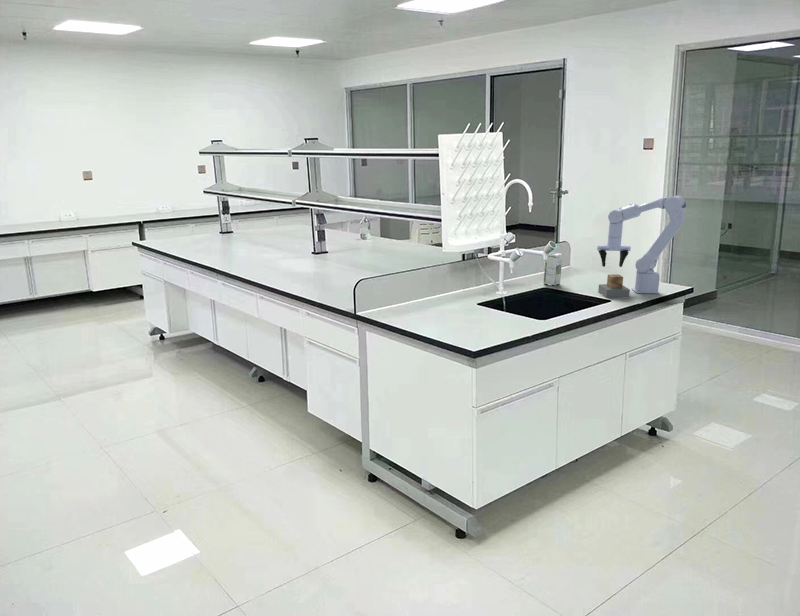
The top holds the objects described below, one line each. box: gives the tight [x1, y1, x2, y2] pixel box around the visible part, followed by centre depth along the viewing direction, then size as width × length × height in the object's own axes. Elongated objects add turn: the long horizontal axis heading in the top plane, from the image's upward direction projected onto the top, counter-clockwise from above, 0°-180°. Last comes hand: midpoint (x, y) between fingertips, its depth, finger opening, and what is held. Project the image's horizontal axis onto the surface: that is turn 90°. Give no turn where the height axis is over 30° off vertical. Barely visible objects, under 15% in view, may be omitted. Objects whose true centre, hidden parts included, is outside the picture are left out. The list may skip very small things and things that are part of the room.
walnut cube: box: [606, 273, 624, 288], centre depth 278 cm, size 5×5×5 cm
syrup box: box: [543, 252, 563, 286], centre depth 297 cm, size 6×6×14 cm
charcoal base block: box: [597, 283, 631, 299], centre depth 279 cm, size 10×10×4 cm
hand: (612, 266), depth 292 cm, fingers open, 7 cm apart
